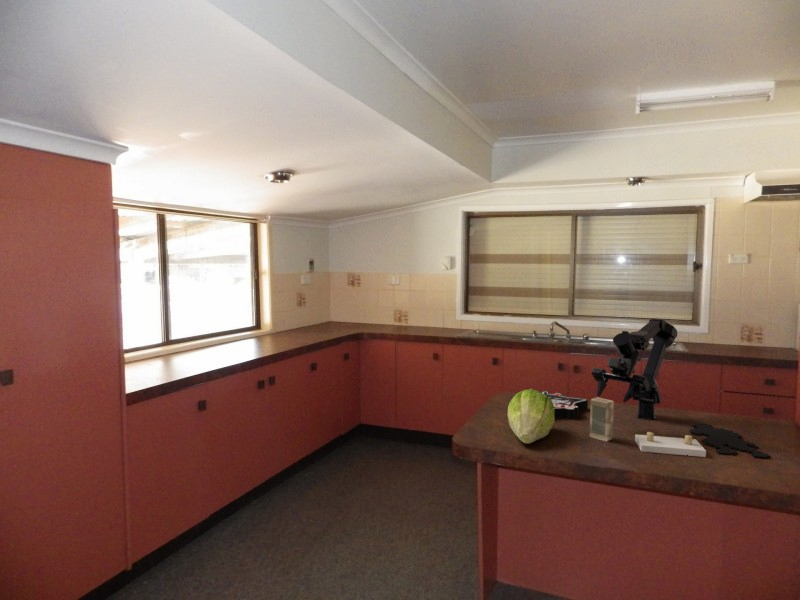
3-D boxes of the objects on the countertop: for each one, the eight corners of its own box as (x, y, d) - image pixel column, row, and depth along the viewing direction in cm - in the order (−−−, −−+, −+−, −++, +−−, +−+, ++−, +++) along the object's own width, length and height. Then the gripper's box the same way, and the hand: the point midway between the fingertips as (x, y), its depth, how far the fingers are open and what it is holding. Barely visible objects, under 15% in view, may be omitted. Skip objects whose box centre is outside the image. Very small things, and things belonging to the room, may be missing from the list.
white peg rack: (635, 440, 166) (635, 427, 165) (695, 445, 161) (696, 431, 160) (641, 451, 156) (641, 437, 156) (705, 457, 151) (706, 442, 151)
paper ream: (595, 434, 172) (596, 397, 171) (612, 438, 167) (613, 401, 166) (589, 436, 169) (590, 399, 168) (606, 441, 164) (607, 403, 163)
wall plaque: (589, 396, 205) (579, 416, 179) (589, 406, 206) (578, 428, 179) (522, 388, 218) (503, 406, 192) (522, 397, 219) (502, 416, 192)
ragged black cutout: (771, 460, 149) (729, 427, 179) (772, 457, 149) (730, 425, 178) (712, 455, 153) (681, 424, 182) (712, 452, 153) (681, 422, 182)
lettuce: (552, 463, 159) (504, 461, 166) (558, 416, 179) (515, 416, 186) (545, 425, 154) (495, 425, 160) (552, 382, 174) (508, 383, 181)
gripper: (594, 345, 180) (577, 380, 174) (647, 352, 166) (630, 390, 160) (604, 364, 186) (588, 398, 180) (656, 372, 171) (640, 409, 165)
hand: (610, 398), depth 171 cm, fingers open, 9 cm apart
